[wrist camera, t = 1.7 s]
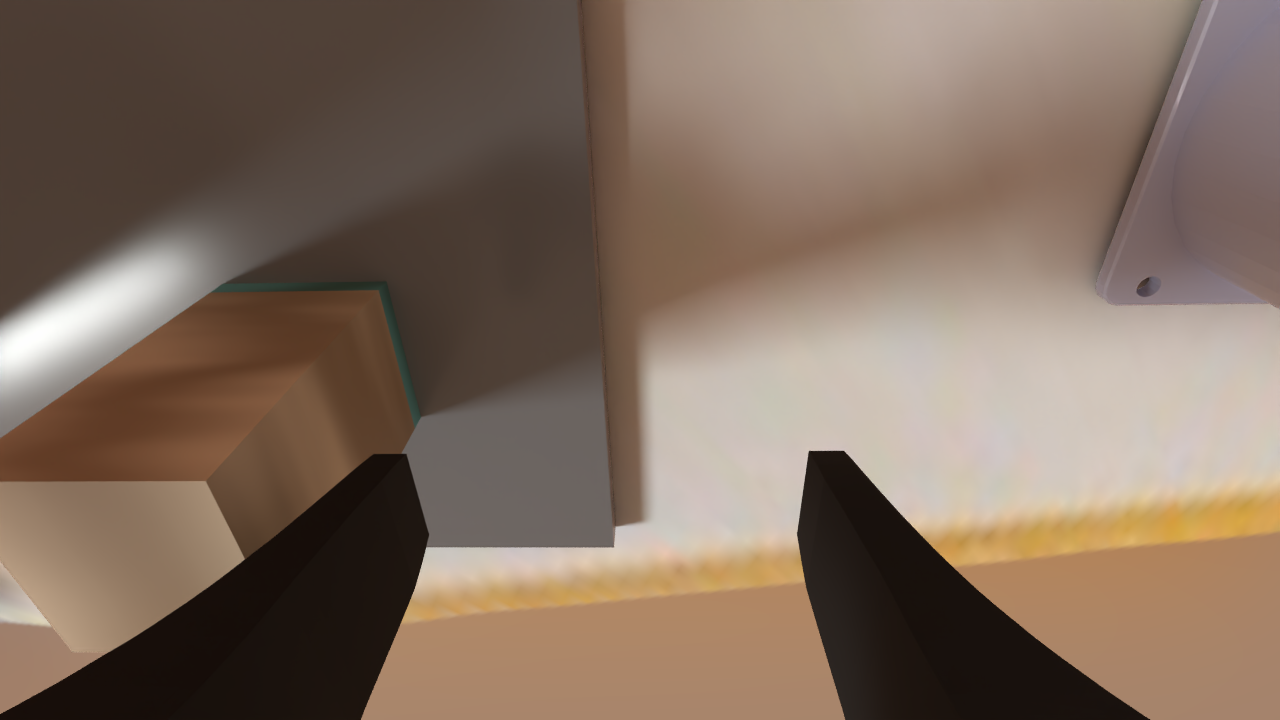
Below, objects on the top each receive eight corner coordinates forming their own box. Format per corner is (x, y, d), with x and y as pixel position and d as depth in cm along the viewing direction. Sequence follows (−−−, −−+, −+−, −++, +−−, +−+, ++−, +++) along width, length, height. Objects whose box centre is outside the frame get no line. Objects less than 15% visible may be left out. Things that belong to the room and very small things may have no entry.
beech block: (386, 281, 15) (205, 481, 9) (420, 417, 17) (292, 654, 11) (222, 283, 15) (-63, 481, 9) (276, 418, 17) (72, 651, 11)
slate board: (576, -81, 12) (571, -85, 11) (615, 528, 20) (613, 547, 19) (-323, -50, 13) (-380, -51, 12) (71, 528, 21) (51, 547, 20)
